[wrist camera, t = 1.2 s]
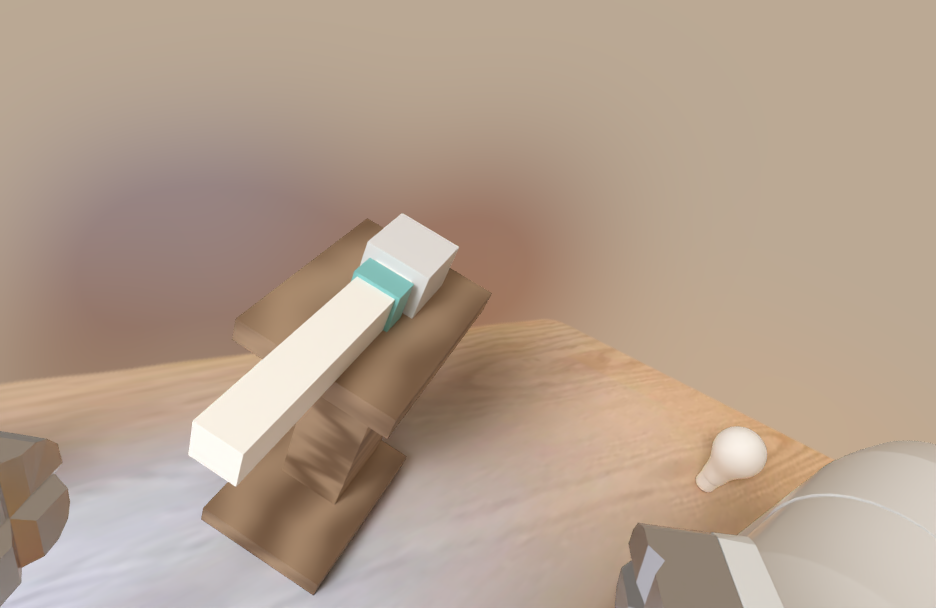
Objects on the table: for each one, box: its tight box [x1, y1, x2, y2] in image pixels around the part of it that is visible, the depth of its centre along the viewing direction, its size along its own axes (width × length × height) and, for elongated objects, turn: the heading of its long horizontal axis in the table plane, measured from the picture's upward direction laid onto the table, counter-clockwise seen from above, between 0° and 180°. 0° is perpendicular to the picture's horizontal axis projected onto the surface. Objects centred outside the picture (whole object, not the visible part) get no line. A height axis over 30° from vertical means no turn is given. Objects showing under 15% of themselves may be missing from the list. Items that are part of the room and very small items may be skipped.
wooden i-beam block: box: [201, 219, 492, 595], centre depth 54 cm, size 12×16×26 cm
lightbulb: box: [696, 426, 767, 492], centre depth 78 cm, size 6×6×11 cm
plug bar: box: [188, 213, 459, 487], centre depth 40 cm, size 5×22×4 cm, turn 155°
